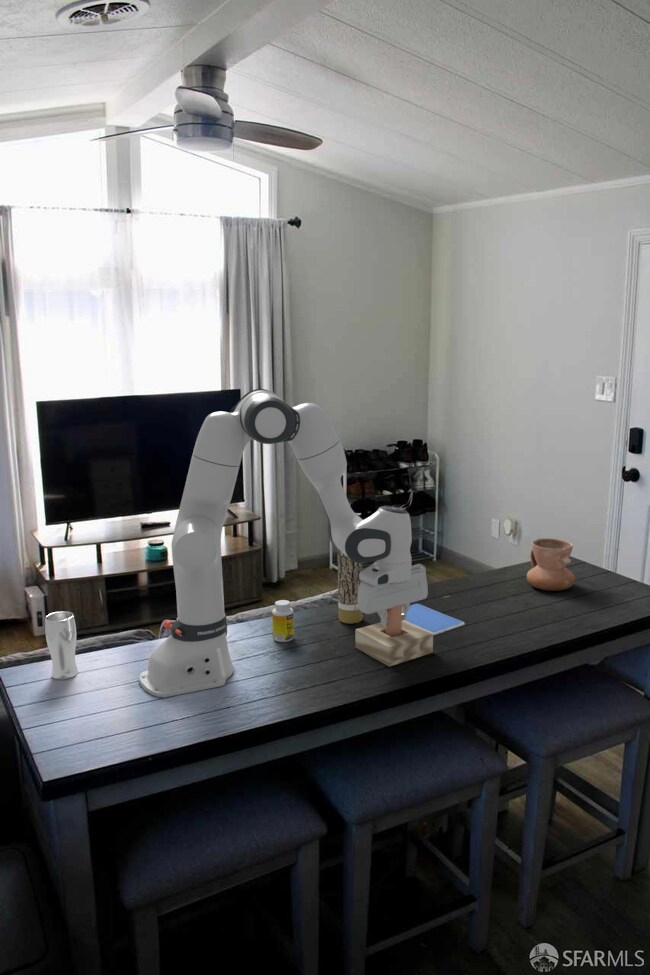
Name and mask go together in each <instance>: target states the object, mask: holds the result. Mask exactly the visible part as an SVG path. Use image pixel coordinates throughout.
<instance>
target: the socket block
mask: <svg viewBox="0 0 650 975" xmlns="http://www.w3.org/2000/svg"><path fill="white" fill-rule="evenodd" d="M354 630H355V633H354V634H355V636H354V637H355V641H354V642H355V649H357V650H359V651H360V652H363V653H364V654H366V655H368V656H370V657H371V658H373V659H375V660H377V661H378V662H380V663H382V664H384V665H385V666H387V667H393V666H395V665H399V664H401V663H405V662H408V661H410V660H414V659H416V658H417V659H418V658H420V657H423V656H426V655H427V656H428V655H430V654H432V653H434V635H433V634H432V633H430V632H428V631H426V630H424V629H422V628H420V627H417V626H415V625H413V624H411V623H409V622H407V621H405V620H403V621H402V635H398V636H395V637H391V636H389V635H387V634H386V626H384V625H382V624H381V621H380V622H377V623H373V624H369V625H366V626H363V627H360V628H356V629H354Z"/></svg>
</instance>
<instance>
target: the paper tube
mask: <svg viewBox="0 0 650 975" xmlns="http://www.w3.org/2000/svg"><path fill="white" fill-rule="evenodd" d="M361 571H363V564H359V563H355V562H353V561H352V560H350V559H349V558H348V557H347V556H346V555H344V554H343V553H342V552H341V551H340V550H338V549H337V593H338V594H337V595H338V596H337V597H338V598H337V600H338V602H337V604H338V607H337V608H338V620H339V622H341V623H343V624H346V625H347V624H348V625H349V624H350V625H352V624H354V623H355V624H359V623H360V622H362V621H363V619H364V615H363V612H361V611H360V610H359V608H358V588H359V585H360V583H361V582H362V580H360V579H359V573H360V572H361Z"/></svg>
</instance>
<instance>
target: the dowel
mask: <svg viewBox="0 0 650 975" xmlns="http://www.w3.org/2000/svg"><path fill="white" fill-rule="evenodd" d="M385 616H386V617H387V618H390V621H389V622H390V624H389V625H386V634H387V635H389V636H391V637H395V636H398V635H402V605H400V606H396V607H393V608H390V609H386V613H385Z"/></svg>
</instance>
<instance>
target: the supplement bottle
mask: <svg viewBox="0 0 650 975" xmlns="http://www.w3.org/2000/svg"><path fill="white" fill-rule="evenodd" d="M271 612H272V613H271V614H272V637H273V640H274V641H275V642H279V643H287V642H290V641H292V640H294V637H295V633H294V632H295V631H294V629H295V628H294V626H295V625H294V610H293V608H292V607H291V602H290V601H289V600H286V599H280V600H277V601H275V602H274V608H273V609H272V611H271Z"/></svg>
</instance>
